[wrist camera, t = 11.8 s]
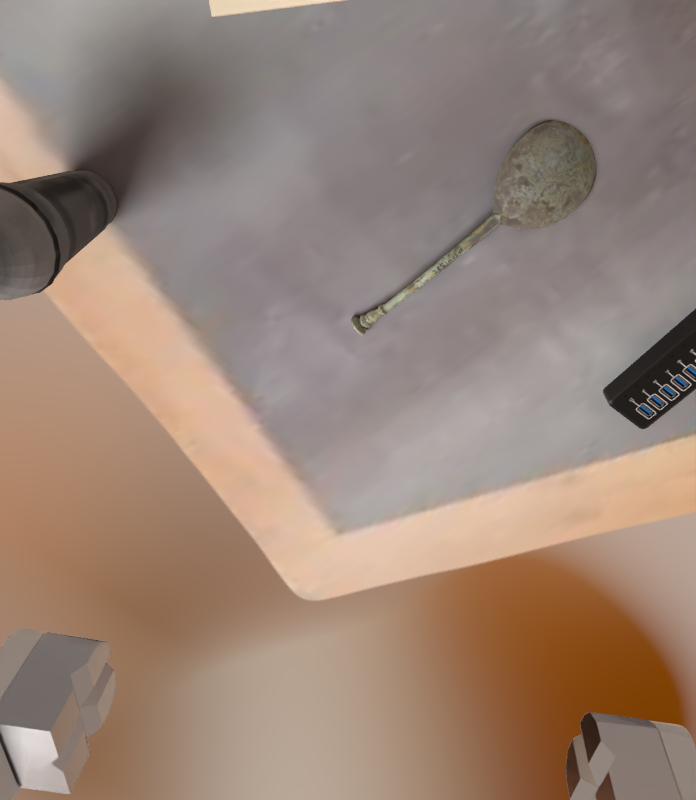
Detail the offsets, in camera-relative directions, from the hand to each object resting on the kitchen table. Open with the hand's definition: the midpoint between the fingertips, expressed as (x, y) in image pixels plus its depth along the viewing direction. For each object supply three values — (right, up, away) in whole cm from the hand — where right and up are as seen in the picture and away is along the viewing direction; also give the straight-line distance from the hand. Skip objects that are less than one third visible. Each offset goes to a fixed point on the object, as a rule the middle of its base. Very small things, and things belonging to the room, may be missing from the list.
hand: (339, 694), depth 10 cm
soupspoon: (+9, +18, +37) cm, 42 cm away
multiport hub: (+28, +10, +40) cm, 49 cm away
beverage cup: (-20, +21, +38) cm, 48 cm away
